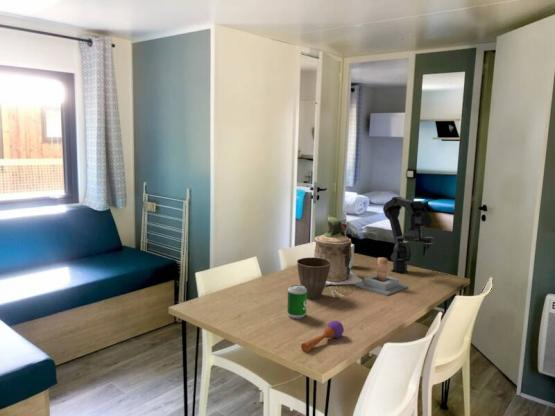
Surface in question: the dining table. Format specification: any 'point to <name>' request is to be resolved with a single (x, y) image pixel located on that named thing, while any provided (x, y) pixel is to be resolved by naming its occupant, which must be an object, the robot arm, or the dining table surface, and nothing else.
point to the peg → (382, 269)
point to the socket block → (381, 285)
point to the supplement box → (352, 256)
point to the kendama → (324, 335)
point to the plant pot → (313, 275)
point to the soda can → (297, 301)
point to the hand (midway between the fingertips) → (415, 256)
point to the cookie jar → (336, 253)
